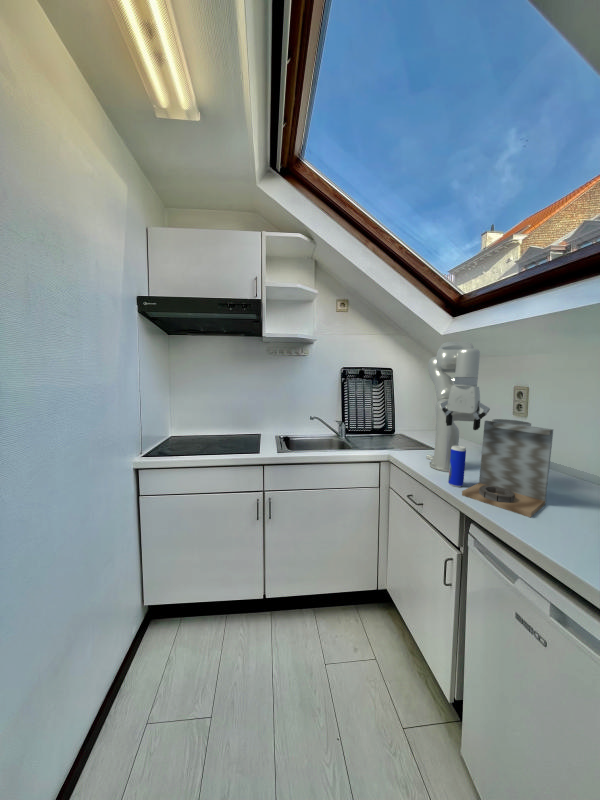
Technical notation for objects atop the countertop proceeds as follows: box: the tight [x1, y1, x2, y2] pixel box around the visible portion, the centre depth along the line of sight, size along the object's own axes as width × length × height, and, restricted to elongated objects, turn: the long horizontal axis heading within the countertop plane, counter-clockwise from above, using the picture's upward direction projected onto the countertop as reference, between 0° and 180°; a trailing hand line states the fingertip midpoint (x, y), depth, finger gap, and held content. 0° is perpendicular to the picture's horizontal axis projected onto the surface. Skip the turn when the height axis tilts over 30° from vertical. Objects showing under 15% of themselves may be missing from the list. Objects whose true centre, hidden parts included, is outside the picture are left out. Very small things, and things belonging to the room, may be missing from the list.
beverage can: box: [447, 445, 467, 488], centre depth 116 cm, size 5×5×15 cm
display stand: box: [461, 420, 554, 518], centre depth 103 cm, size 20×16×26 cm
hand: (461, 427), depth 114 cm, fingers open, 9 cm apart
